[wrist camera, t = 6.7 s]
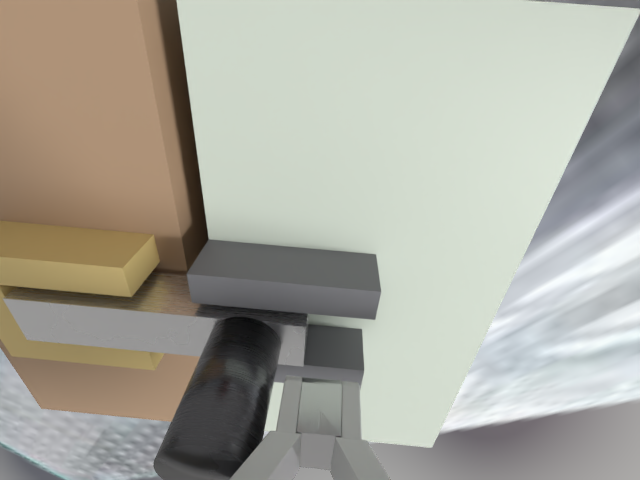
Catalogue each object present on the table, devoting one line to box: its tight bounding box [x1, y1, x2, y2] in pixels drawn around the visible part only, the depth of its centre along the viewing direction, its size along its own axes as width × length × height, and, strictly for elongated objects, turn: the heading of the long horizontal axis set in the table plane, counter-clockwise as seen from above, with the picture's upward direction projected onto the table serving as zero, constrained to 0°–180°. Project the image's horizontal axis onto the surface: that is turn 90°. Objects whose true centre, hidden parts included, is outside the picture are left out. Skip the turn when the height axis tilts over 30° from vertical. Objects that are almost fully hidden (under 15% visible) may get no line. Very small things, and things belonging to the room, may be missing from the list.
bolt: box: [3, 272, 309, 480], centre depth 11 cm, size 10×2×6 cm, turn 86°
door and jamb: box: [0, 0, 640, 448], centre depth 14 cm, size 22×20×6 cm
